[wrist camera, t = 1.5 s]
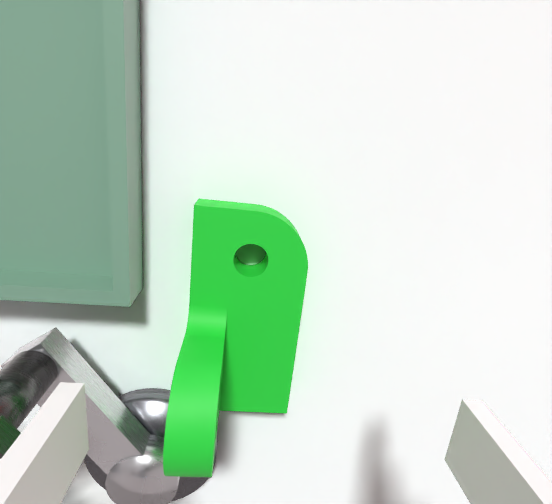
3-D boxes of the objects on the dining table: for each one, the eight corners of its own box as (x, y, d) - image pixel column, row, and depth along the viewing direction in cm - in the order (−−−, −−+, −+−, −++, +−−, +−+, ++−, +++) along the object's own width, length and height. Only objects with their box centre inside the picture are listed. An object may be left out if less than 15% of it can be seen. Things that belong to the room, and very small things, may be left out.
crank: (202, 464, 23) (180, 619, 16) (134, 498, 24) (83, 665, 16) (75, 314, 20) (-31, 424, 12) (-2, 358, 20) (-148, 490, 13)
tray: (-61, 276, 20) (-100, 294, 18) (-130, -105, 15) (-197, -147, 13) (142, 287, 21) (130, 306, 19) (139, -66, 16) (120, -99, 14)
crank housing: (94, 486, 25) (86, 504, 24) (88, 386, 23) (78, 400, 22) (214, 487, 26) (212, 505, 25) (220, 390, 24) (219, 404, 22)
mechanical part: (283, 391, 24) (299, 509, 17) (189, 386, 24) (161, 507, 16) (309, 209, 21) (344, 254, 13) (199, 198, 20) (169, 238, 12)
